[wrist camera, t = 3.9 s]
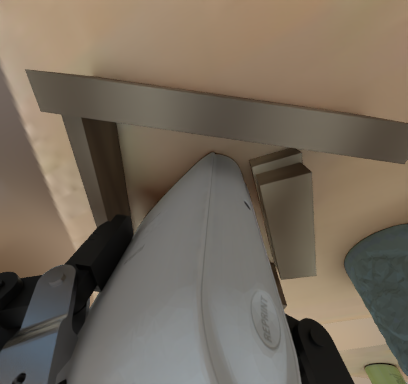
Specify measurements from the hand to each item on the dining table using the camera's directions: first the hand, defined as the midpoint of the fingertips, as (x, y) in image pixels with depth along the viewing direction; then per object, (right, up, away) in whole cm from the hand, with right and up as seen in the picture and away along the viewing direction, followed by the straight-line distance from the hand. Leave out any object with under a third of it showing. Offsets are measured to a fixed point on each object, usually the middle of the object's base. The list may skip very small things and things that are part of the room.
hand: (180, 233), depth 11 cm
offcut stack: (+8, +1, +3) cm, 9 cm away
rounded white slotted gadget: (0, +2, +3) cm, 4 cm away
